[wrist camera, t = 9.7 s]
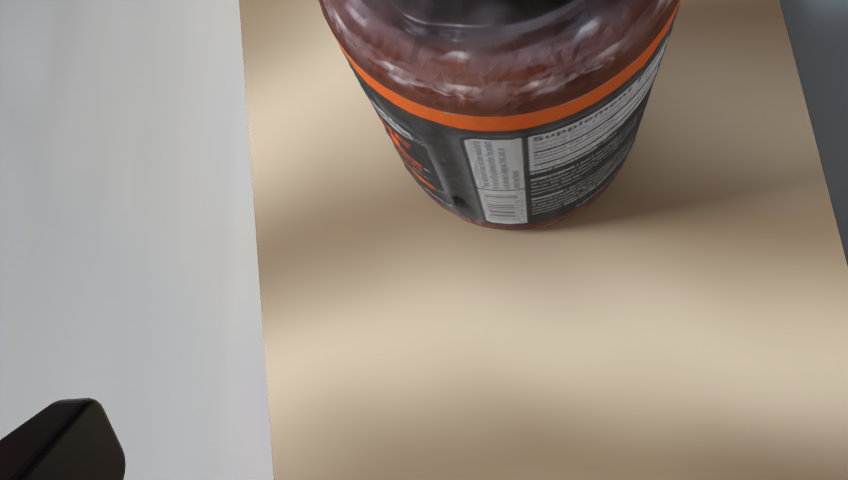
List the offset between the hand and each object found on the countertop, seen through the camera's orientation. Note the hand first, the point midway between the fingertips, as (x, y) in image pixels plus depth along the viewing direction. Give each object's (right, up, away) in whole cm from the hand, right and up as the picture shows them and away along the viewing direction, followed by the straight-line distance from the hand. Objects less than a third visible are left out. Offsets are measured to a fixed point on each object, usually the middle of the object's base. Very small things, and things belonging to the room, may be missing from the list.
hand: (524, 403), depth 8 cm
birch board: (+2, +2, +13) cm, 13 cm away
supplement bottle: (+1, +5, +12) cm, 13 cm away
